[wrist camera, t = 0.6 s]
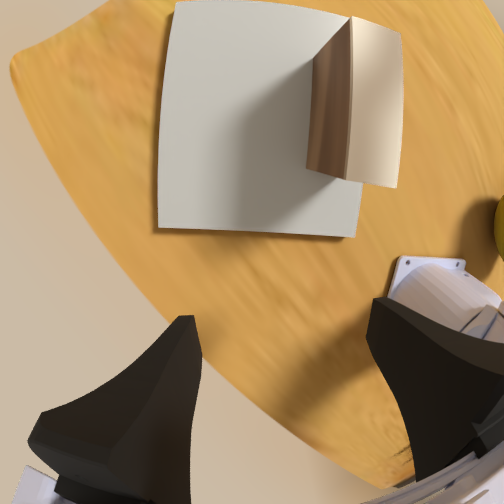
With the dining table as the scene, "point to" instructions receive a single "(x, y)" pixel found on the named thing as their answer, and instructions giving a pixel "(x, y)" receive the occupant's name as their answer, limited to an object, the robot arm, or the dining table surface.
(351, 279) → the dining table surface
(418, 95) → the dining table surface
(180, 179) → the board
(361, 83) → the slab
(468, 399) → the robot arm
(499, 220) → the lemon
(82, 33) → the dining table surface
